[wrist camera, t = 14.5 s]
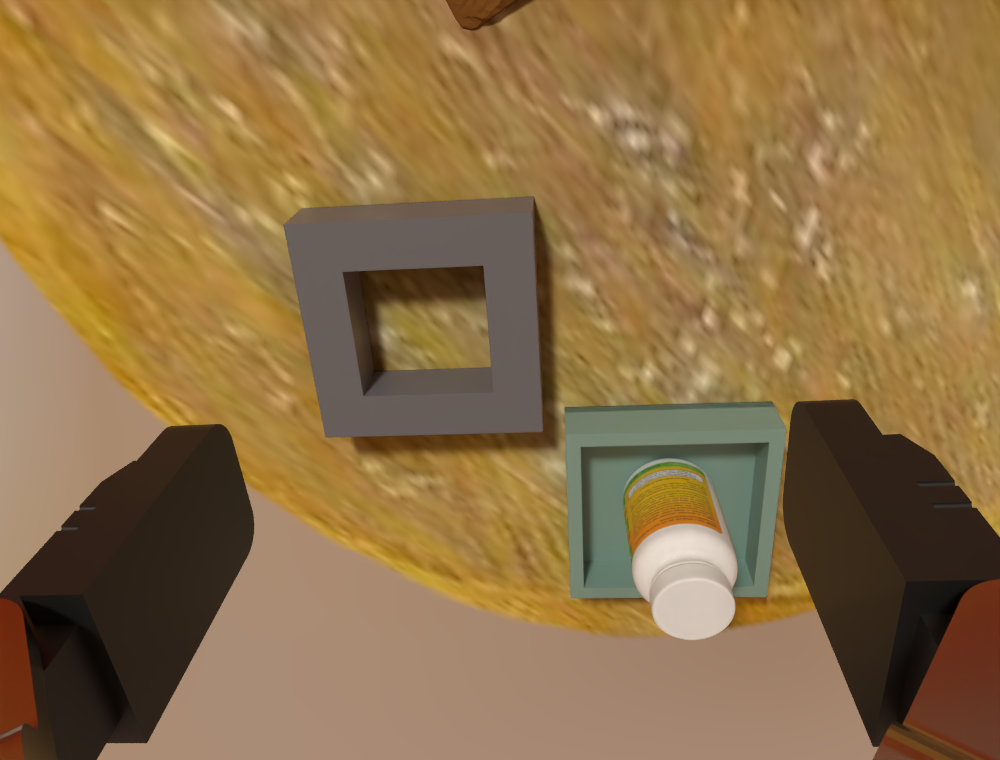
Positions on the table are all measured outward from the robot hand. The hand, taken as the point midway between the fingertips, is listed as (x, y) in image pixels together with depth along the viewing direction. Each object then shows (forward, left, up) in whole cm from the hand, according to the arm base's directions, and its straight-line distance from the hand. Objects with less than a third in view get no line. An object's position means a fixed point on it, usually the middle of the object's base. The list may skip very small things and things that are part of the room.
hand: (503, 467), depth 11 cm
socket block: (+6, +9, -30) cm, 32 cm away
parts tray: (-7, +21, -30) cm, 37 cm away
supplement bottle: (-7, +21, -29) cm, 37 cm away
